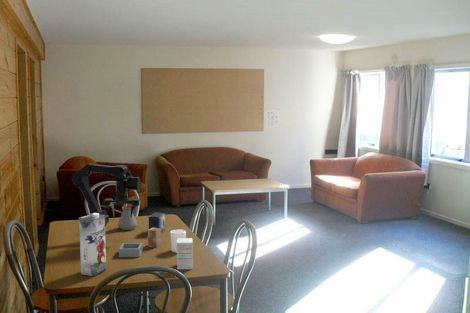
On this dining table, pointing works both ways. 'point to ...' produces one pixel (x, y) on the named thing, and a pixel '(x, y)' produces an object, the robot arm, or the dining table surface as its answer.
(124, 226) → the coffee pot
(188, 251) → the supplement box
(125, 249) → the open box
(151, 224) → the small box
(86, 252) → the juice carton
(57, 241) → the dining table surface
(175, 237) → the white cup
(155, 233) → the tan upright block
